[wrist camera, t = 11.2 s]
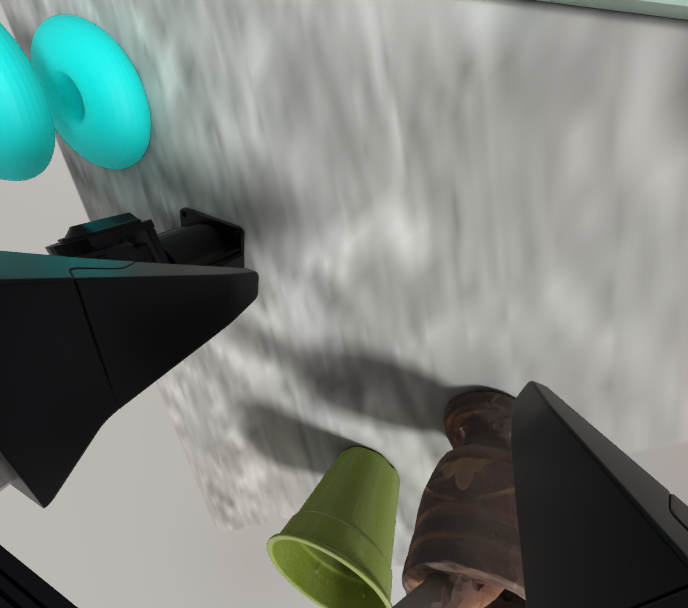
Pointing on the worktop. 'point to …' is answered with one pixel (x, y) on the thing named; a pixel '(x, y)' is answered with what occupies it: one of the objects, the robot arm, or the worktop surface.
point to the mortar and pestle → (469, 515)
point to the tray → (636, 6)
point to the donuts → (69, 99)
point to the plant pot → (343, 535)
